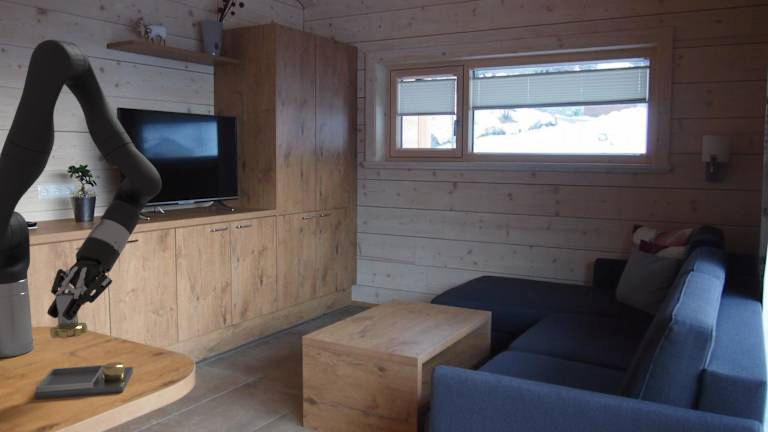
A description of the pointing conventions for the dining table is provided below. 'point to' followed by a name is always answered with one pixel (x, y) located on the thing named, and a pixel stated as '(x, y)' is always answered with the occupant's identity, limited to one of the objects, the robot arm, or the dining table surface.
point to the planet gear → (66, 326)
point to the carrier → (84, 381)
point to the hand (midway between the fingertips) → (59, 316)
